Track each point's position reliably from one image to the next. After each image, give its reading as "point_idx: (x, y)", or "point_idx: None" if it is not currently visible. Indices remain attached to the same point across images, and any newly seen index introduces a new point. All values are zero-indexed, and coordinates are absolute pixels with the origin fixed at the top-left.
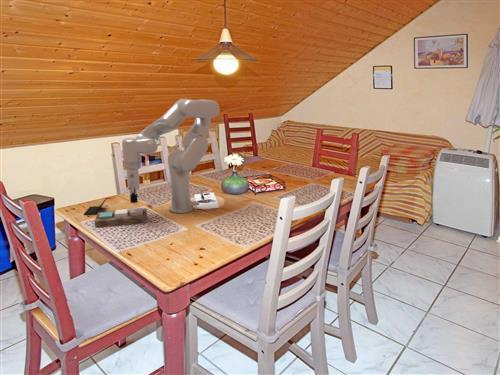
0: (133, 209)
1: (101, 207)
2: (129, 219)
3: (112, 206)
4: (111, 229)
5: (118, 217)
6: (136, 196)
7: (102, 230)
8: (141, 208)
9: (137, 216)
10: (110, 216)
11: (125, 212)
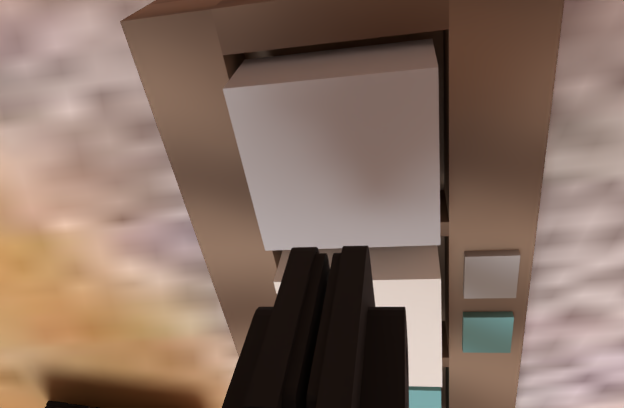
0: (296, 216)
1: (53, 404)
2: (533, 209)
3: (4, 346)
4: (602, 316)
5: (475, 329)
6: (357, 375)
7: (593, 371)
8: (253, 104)
9: (482, 121)
10: (440, 394)
11: (414, 297)
